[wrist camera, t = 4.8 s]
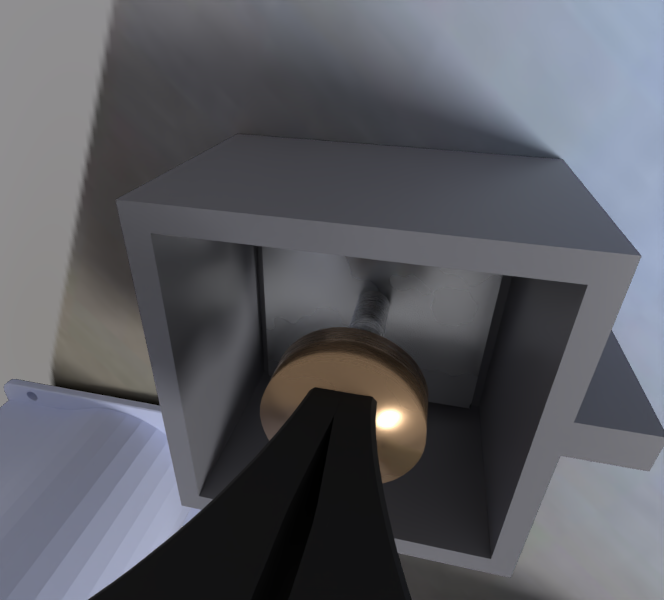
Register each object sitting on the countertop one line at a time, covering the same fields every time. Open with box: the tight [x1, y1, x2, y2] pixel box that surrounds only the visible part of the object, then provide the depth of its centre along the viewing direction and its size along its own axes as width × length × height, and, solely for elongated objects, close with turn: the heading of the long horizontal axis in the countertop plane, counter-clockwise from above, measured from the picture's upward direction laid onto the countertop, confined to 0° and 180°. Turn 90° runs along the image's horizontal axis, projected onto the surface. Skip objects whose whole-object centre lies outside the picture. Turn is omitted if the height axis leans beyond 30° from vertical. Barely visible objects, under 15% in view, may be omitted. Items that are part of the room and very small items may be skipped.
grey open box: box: [116, 134, 664, 578], centre depth 13 cm, size 11×9×6 cm
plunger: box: [260, 246, 503, 483], centre depth 12 cm, size 7×7×6 cm
